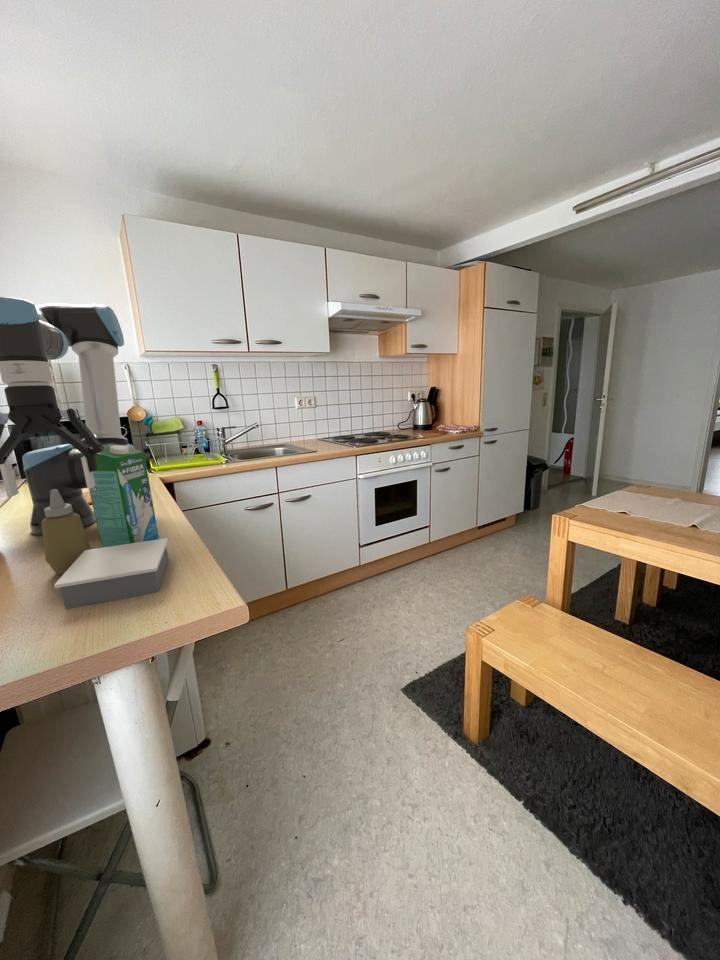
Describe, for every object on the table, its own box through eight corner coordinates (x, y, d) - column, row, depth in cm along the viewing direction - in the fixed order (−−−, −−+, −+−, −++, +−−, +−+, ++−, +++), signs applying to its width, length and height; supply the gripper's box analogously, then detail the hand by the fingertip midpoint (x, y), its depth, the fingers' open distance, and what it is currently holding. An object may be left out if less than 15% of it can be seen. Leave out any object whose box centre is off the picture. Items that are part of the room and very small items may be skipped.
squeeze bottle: (79, 559, 90) (62, 484, 85) (103, 564, 87) (86, 486, 82) (40, 575, 82) (19, 493, 78) (64, 581, 79) (44, 496, 75)
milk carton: (133, 551, 93) (113, 448, 87) (101, 549, 95) (79, 448, 89) (159, 536, 102) (142, 442, 96) (129, 535, 104) (111, 442, 98)
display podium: (89, 571, 83) (84, 550, 82) (171, 558, 88) (167, 538, 87) (60, 610, 68) (54, 585, 67) (160, 592, 73) (156, 568, 72)
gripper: (-67, 387, 68) (-34, 503, 73) (97, 382, 76) (117, 487, 80) (-40, 388, 75) (-12, 494, 80) (107, 383, 83) (126, 480, 87)
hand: (53, 491), depth 80 cm, fingers open, 13 cm apart
